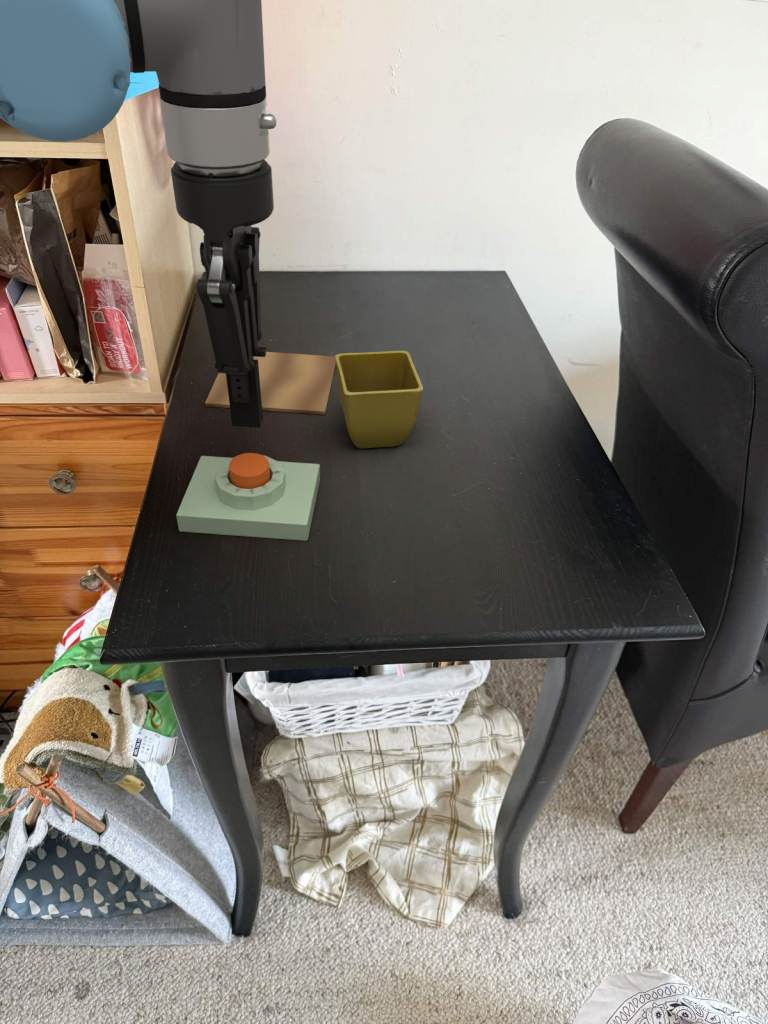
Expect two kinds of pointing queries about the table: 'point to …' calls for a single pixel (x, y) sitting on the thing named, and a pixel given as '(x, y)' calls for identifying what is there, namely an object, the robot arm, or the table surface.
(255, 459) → the round orange button
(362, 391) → the flower pot
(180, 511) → the green button base
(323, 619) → the table surface
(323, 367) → the brown wooden board
